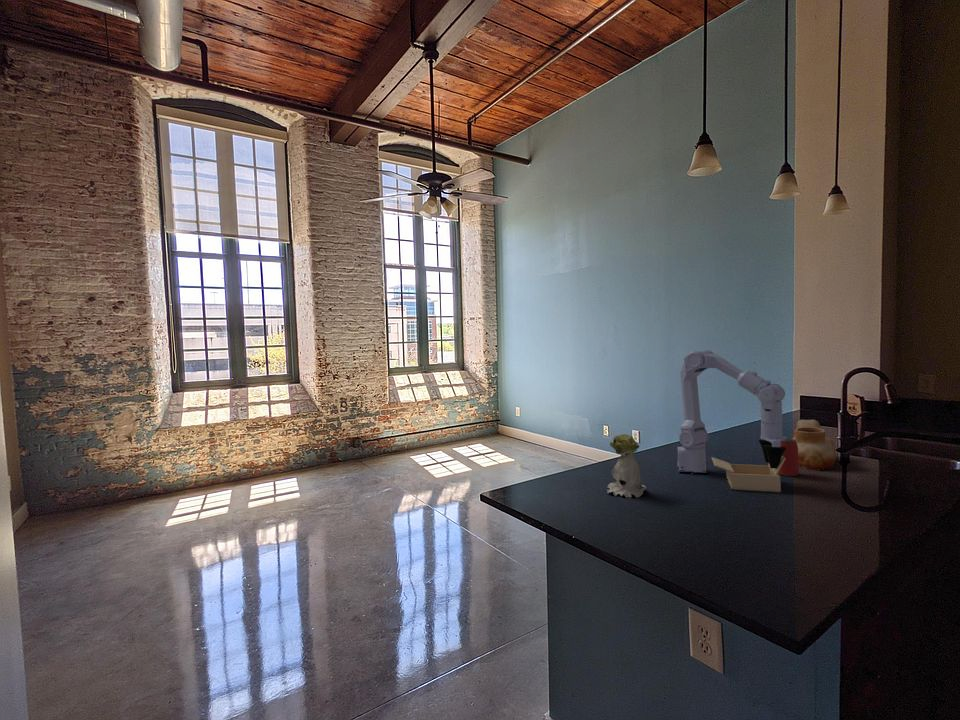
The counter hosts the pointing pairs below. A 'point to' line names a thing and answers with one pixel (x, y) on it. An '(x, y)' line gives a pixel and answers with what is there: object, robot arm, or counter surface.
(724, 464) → the flap
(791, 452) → the beer can
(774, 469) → the flap
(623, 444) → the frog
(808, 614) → the counter surface
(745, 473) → the cardboard box
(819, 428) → the ceramic vessel
